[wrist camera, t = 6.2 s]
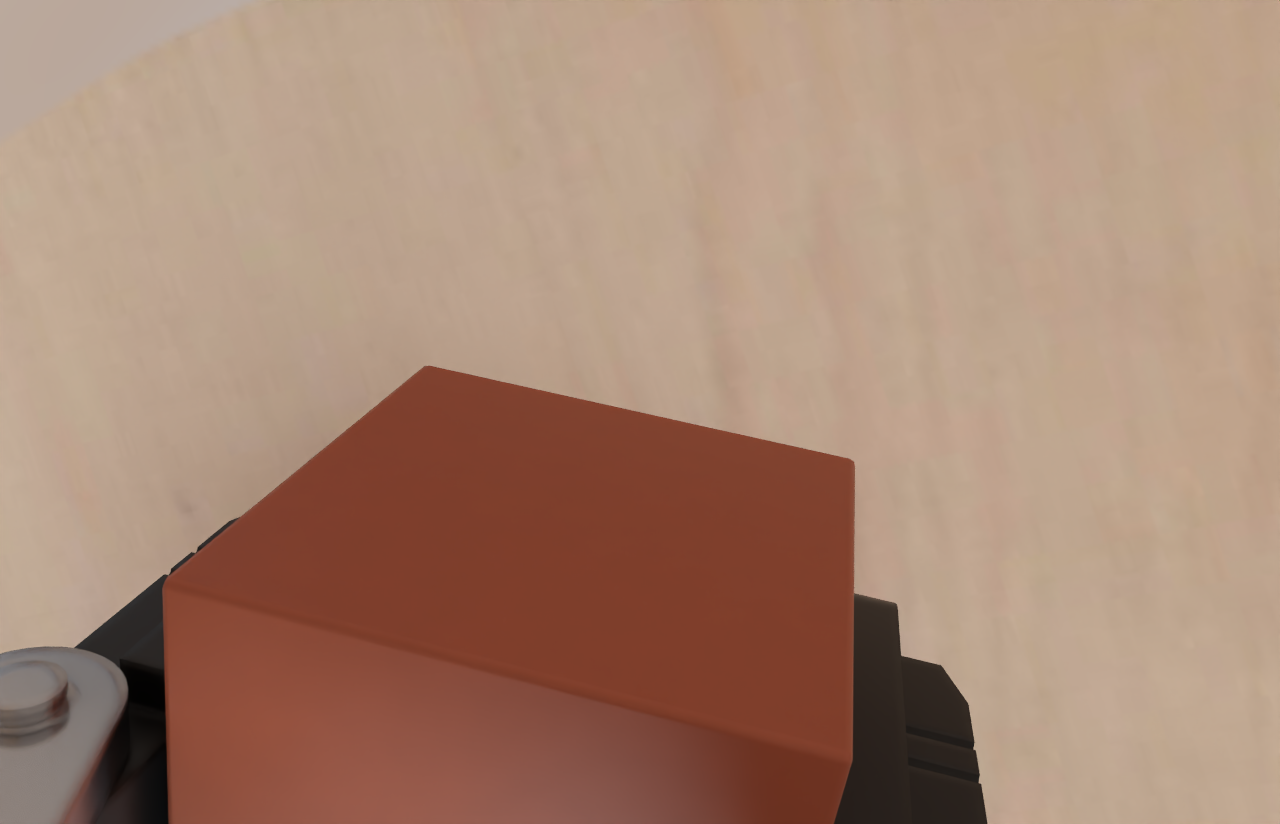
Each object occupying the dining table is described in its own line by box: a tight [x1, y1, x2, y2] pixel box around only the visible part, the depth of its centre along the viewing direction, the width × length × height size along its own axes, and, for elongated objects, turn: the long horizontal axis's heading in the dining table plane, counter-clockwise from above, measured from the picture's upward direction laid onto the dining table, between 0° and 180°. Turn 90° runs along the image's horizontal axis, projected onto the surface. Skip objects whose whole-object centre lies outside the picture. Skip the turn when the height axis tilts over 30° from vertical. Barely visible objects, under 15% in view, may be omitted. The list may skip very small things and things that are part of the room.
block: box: [162, 366, 855, 824], centre depth 9 cm, size 4×4×4 cm
